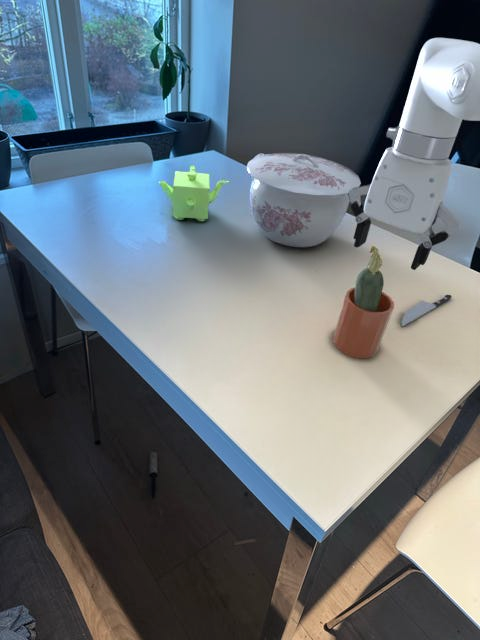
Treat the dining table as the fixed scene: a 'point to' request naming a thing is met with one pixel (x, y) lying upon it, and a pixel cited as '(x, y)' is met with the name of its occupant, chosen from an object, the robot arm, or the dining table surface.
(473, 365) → the dining table surface
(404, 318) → the chef's knife
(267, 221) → the chamber pot
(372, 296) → the vegetable
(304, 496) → the dining table surface
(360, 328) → the cup
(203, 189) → the kettle
